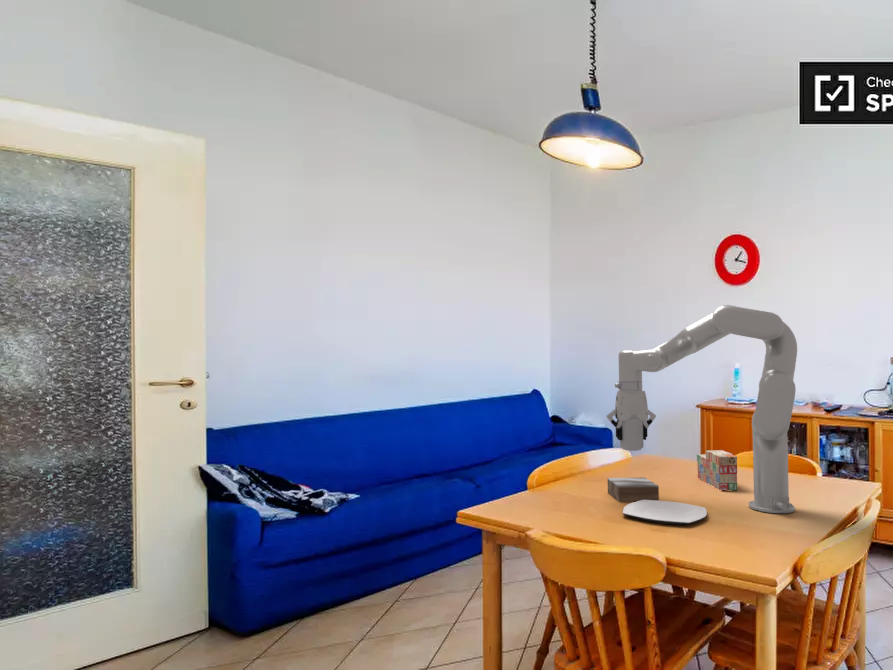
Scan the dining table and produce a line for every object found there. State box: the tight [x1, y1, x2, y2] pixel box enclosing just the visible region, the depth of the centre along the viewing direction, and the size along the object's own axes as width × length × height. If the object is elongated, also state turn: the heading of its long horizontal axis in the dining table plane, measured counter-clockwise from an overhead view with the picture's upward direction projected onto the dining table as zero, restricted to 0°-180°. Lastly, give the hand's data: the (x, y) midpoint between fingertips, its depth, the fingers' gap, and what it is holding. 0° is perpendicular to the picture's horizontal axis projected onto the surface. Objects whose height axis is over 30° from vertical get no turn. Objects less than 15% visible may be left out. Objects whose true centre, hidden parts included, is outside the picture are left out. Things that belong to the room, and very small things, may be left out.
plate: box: [622, 500, 708, 526], centre depth 186 cm, size 23×23×2 cm
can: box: [619, 415, 644, 452], centre depth 210 cm, size 8×8×12 cm
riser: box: [607, 477, 660, 503], centre depth 210 cm, size 13×13×5 cm
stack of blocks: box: [696, 449, 738, 491], centre depth 227 cm, size 21×6×12 cm, turn 178°
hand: (631, 439), depth 210 cm, fingers closed on can, 7 cm apart
